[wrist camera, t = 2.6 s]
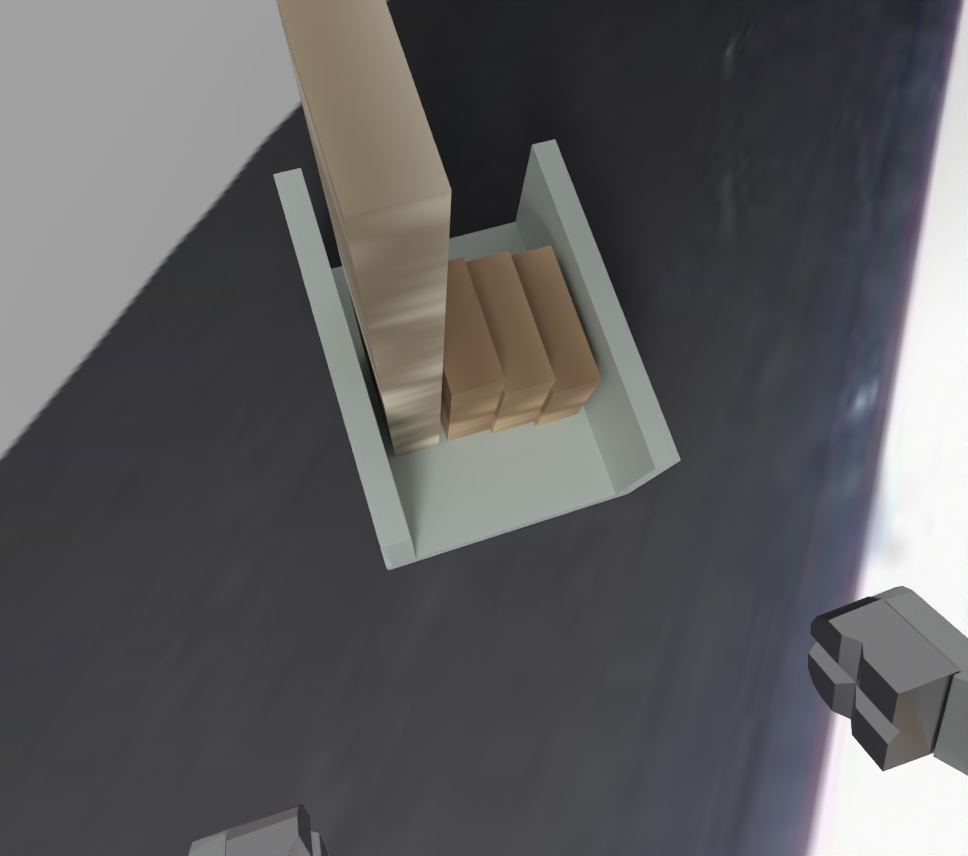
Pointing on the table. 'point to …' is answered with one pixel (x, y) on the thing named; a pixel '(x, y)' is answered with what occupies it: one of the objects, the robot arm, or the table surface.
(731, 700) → the table surface
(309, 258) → the offcut rack
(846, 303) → the table surface
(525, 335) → the offcut stack
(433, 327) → the birch board
